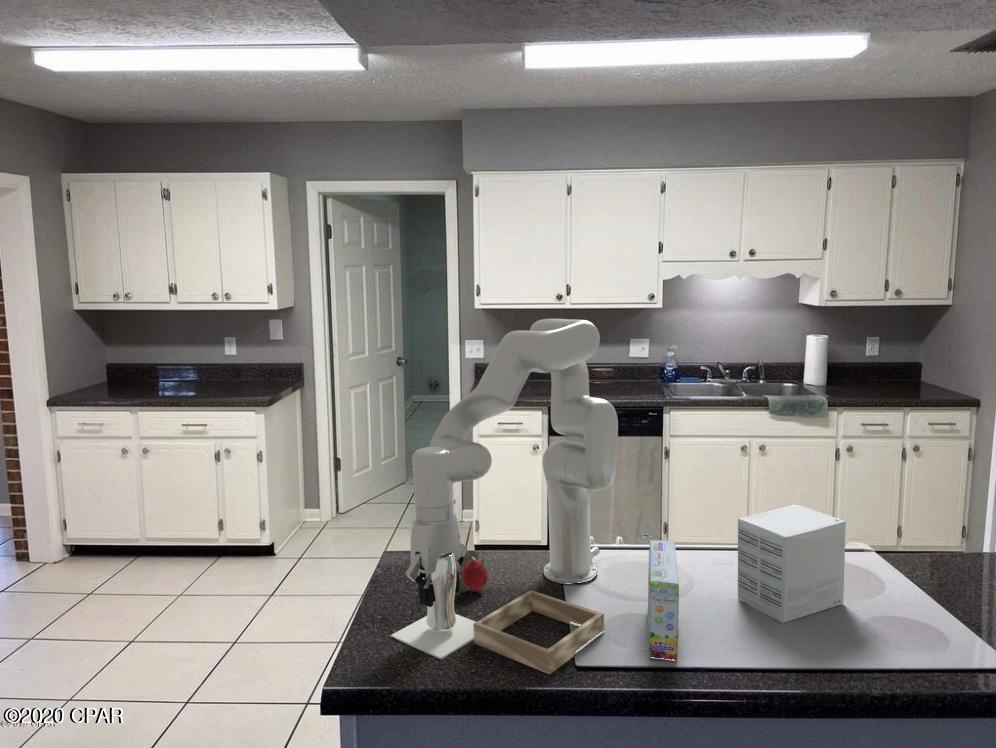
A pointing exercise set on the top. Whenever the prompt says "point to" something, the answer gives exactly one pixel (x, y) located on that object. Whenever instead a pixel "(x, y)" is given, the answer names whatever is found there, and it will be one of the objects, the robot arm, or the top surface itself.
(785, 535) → the supplement box
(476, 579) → the onion
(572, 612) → the wooden frame
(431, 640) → the mat
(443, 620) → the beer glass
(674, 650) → the snack box
